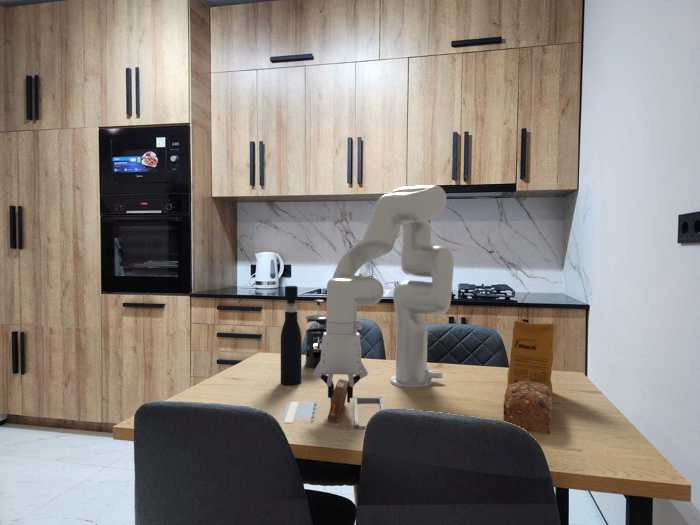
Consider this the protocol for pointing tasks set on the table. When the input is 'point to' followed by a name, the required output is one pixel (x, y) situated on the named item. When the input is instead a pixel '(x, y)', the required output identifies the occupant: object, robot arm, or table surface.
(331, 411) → the tin
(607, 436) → the table surface
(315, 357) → the french press
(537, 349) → the coffee package
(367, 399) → the tray
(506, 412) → the bread
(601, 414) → the table surface
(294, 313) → the black water bottle
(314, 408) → the ticket board
